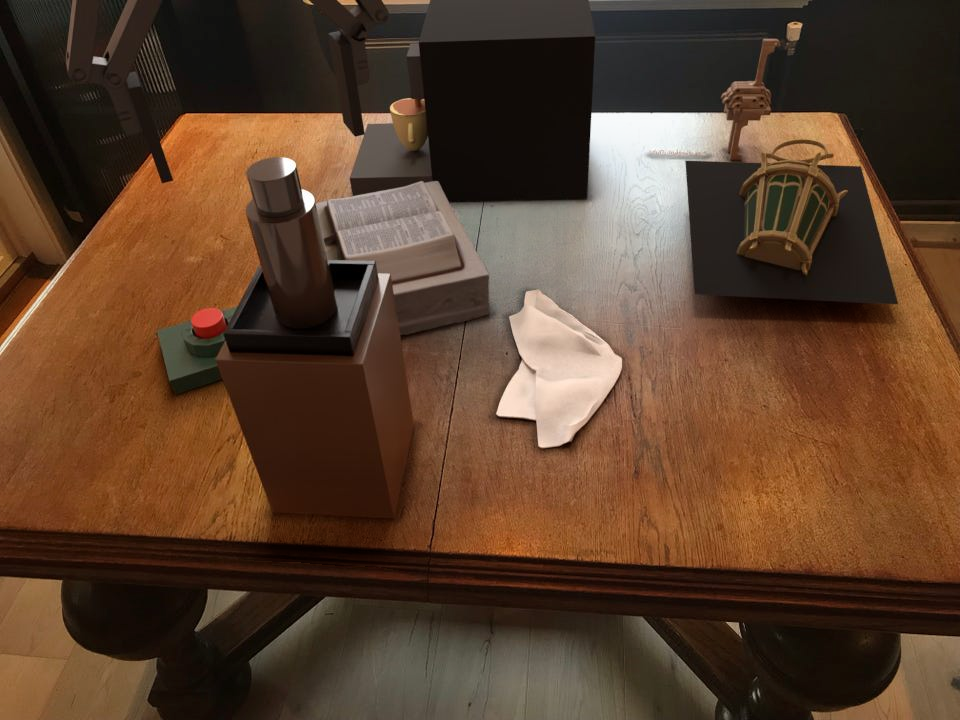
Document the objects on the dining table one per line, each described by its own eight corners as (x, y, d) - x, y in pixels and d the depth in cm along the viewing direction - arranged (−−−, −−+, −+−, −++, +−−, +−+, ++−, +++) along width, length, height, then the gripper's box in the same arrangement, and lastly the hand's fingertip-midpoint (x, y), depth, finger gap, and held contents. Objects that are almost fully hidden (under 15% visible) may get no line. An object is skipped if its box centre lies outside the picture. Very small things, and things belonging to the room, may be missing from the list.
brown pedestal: (272, 512, 75) (207, 340, 60) (304, 421, 84) (255, 252, 69) (394, 519, 73) (358, 345, 59) (414, 426, 82) (387, 254, 67)
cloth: (621, 454, 78) (623, 439, 76) (486, 444, 80) (485, 429, 78) (622, 296, 97) (623, 282, 95) (513, 292, 99) (512, 277, 97)
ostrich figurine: (754, 145, 124) (778, 31, 112) (761, 166, 119) (786, 48, 107) (647, 144, 126) (659, 32, 114) (650, 165, 121) (663, 49, 109)
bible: (299, 354, 92) (281, 287, 85) (311, 230, 112) (297, 169, 105) (494, 333, 93) (491, 266, 86) (471, 215, 113) (468, 153, 106)
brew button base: (175, 394, 88) (163, 369, 85) (162, 343, 94) (151, 318, 92) (278, 361, 91) (270, 335, 88) (259, 314, 98) (251, 289, 95)
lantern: (679, 329, 98) (674, 160, 113) (863, 348, 97) (832, 176, 113) (709, 261, 86) (698, 84, 102) (919, 282, 85) (876, 101, 101)
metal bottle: (284, 336, 62) (243, 193, 54) (268, 301, 66) (228, 162, 57) (345, 316, 64) (315, 175, 55) (327, 283, 67) (296, 145, 59)
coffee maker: (371, 148, 130) (348, 0, 114) (580, 143, 128) (586, -9, 112) (354, 203, 117) (325, 45, 101) (587, 199, 115) (595, 36, 99)
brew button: (198, 342, 89) (193, 331, 87) (192, 325, 91) (188, 313, 90) (229, 333, 90) (225, 321, 88) (223, 315, 92) (219, 304, 91)
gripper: (370, -248, 47) (407, 93, 61) (-91, -206, 40) (73, 170, 54) (415, -240, 42) (444, 130, 56) (-104, -190, 34) (81, 220, 49)
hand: (262, 150), depth 55 cm, fingers open, 13 cm apart
